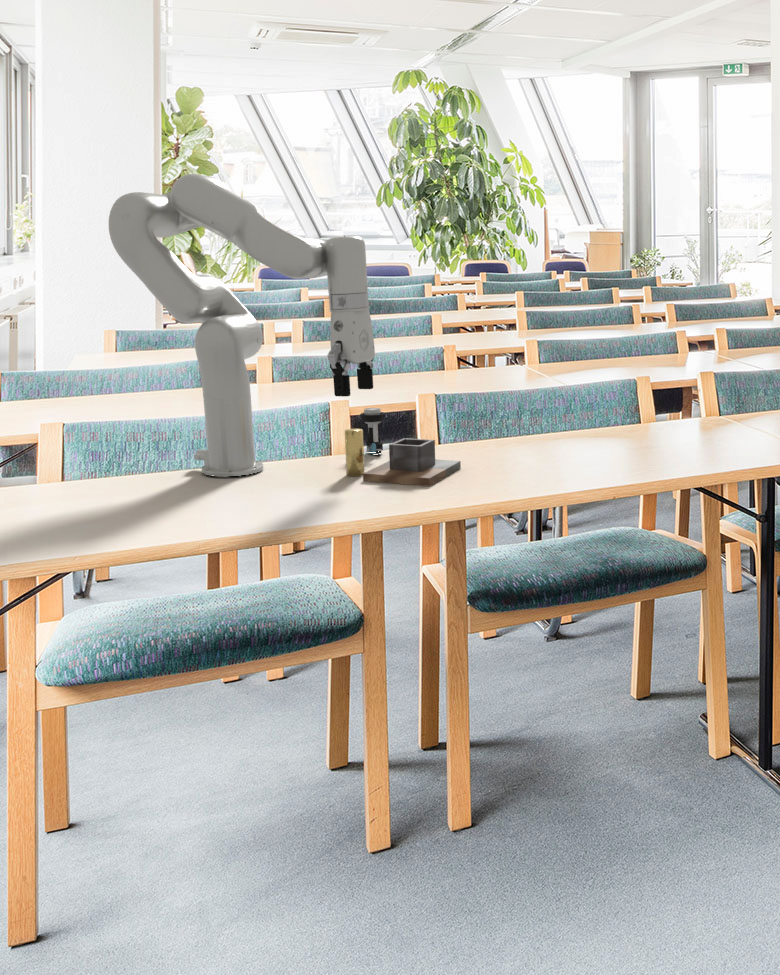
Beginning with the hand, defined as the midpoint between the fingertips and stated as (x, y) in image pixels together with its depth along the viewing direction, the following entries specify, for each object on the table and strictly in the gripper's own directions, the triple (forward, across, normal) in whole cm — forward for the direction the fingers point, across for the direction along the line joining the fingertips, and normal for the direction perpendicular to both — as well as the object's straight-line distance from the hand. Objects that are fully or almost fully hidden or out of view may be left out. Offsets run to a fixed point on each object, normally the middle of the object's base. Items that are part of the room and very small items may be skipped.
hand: (354, 392), depth 182 cm
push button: (+17, +19, +6) cm, 26 cm away
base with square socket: (+17, +3, -10) cm, 20 cm away
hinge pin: (+16, 0, +1) cm, 17 cm away
